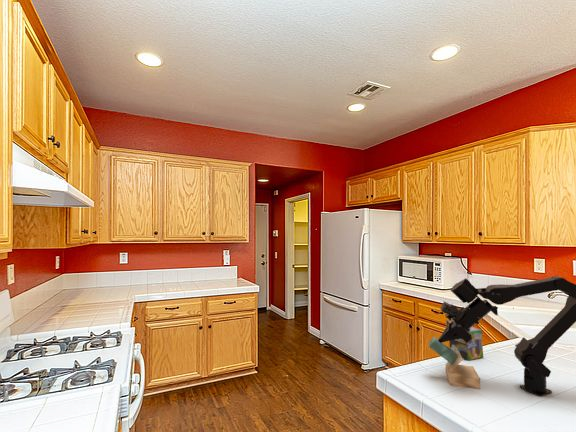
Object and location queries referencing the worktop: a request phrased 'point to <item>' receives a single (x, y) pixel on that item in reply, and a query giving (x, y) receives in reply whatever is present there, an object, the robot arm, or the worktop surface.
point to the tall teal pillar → (446, 353)
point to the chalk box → (469, 345)
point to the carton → (463, 376)
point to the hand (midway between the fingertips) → (439, 341)
